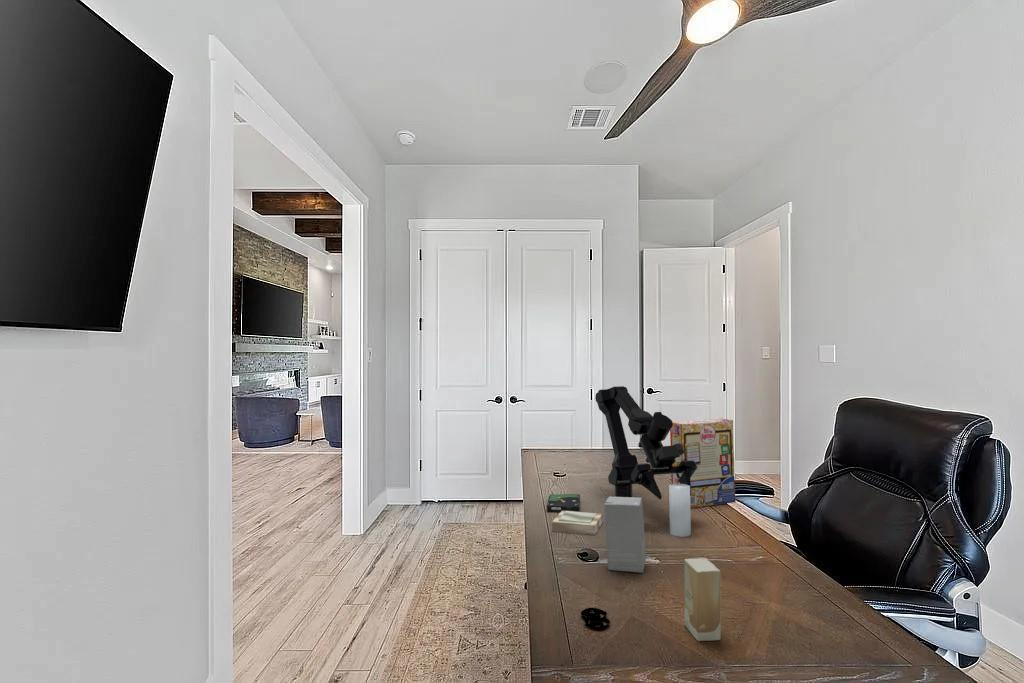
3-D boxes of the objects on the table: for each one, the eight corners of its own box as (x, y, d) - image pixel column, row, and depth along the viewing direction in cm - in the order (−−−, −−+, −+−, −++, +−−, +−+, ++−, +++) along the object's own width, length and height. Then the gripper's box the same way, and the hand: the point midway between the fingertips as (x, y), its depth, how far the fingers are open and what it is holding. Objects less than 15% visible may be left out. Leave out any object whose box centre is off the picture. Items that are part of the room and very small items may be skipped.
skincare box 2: (683, 624, 106) (682, 557, 106) (706, 623, 106) (705, 556, 106) (697, 642, 99) (696, 571, 99) (722, 641, 100) (721, 570, 100)
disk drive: (580, 515, 178) (579, 502, 193) (580, 506, 178) (579, 493, 193) (546, 514, 180) (548, 501, 194) (546, 505, 180) (548, 493, 194)
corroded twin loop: (585, 633, 103) (585, 627, 103) (578, 612, 111) (578, 607, 111) (613, 632, 104) (613, 626, 104) (604, 611, 112) (604, 606, 112)
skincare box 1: (646, 564, 136) (644, 496, 136) (642, 575, 129) (641, 504, 129) (610, 560, 138) (609, 494, 139) (604, 571, 132) (603, 501, 132)
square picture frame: (562, 519, 172) (562, 509, 172) (602, 522, 168) (602, 512, 168) (552, 531, 161) (552, 520, 161) (594, 535, 157) (594, 524, 157)
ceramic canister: (670, 529, 161) (669, 483, 161) (690, 531, 159) (690, 484, 159) (669, 535, 156) (668, 487, 156) (690, 537, 154) (689, 488, 154)
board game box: (723, 498, 193) (722, 418, 194) (736, 503, 187) (734, 420, 188) (670, 504, 187) (669, 421, 187) (682, 509, 181) (680, 423, 181)
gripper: (634, 435, 163) (655, 483, 152) (693, 432, 168) (716, 478, 157) (622, 458, 170) (641, 505, 159) (678, 455, 175) (700, 500, 164)
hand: (675, 497), depth 160 cm, fingers open, 9 cm apart
